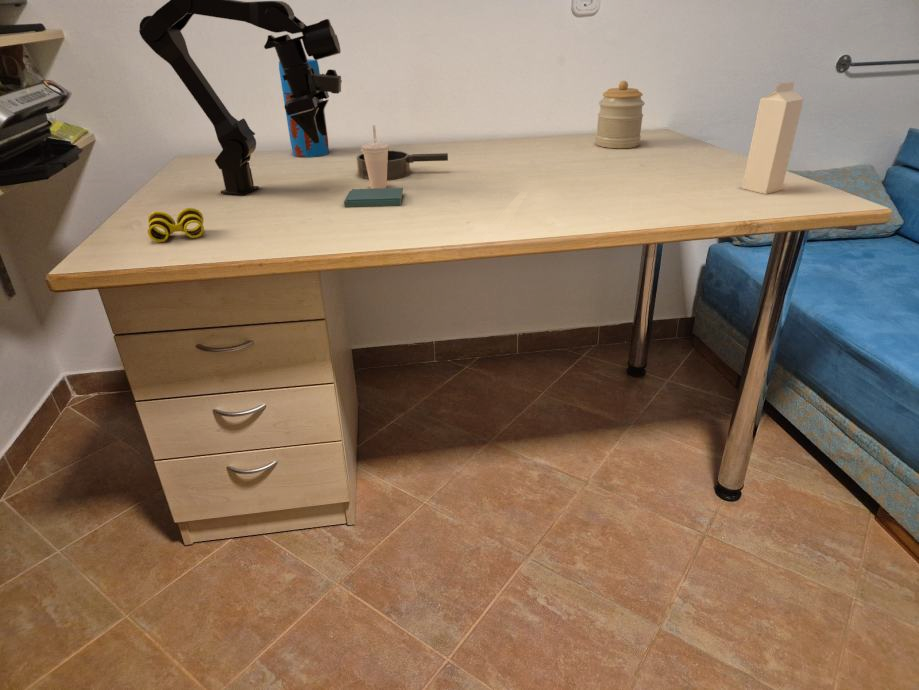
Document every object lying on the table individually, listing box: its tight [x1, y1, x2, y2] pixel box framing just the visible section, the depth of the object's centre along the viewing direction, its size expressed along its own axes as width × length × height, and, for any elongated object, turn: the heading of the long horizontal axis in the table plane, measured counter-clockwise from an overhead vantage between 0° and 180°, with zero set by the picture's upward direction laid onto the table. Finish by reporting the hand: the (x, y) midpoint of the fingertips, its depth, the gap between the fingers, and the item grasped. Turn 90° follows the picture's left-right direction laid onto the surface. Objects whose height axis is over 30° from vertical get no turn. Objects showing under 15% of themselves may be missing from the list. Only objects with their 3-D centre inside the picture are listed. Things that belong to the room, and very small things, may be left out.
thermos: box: [278, 58, 330, 158], centre depth 172 cm, size 11×11×25 cm
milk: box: [741, 81, 804, 195], centre depth 129 cm, size 6×6×22 cm
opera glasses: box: [147, 207, 205, 243], centre depth 113 cm, size 10×5×5 cm, turn 110°
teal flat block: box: [343, 187, 404, 208], centre depth 133 cm, size 12×9×2 cm
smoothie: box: [361, 124, 390, 189], centre depth 139 cm, size 6×6×14 cm
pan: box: [356, 150, 411, 181], centre depth 153 cm, size 13×13×4 cm
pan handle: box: [409, 152, 449, 164], centre depth 153 cm, size 10×2×2 cm, turn 91°
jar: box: [595, 80, 646, 149], centre depth 176 cm, size 13×13×18 cm
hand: (321, 138), depth 137 cm, fingers open, 9 cm apart
